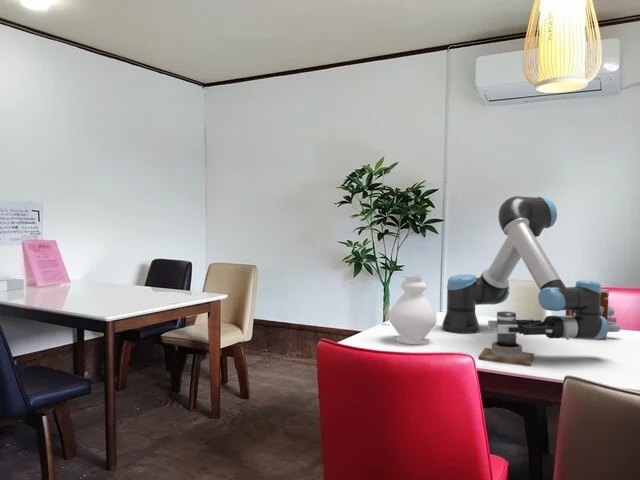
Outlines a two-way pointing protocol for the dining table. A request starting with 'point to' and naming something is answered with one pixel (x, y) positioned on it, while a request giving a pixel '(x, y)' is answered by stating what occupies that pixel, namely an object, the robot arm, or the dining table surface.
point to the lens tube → (506, 338)
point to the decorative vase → (413, 312)
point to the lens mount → (507, 355)
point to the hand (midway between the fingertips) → (493, 326)
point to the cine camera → (603, 312)
